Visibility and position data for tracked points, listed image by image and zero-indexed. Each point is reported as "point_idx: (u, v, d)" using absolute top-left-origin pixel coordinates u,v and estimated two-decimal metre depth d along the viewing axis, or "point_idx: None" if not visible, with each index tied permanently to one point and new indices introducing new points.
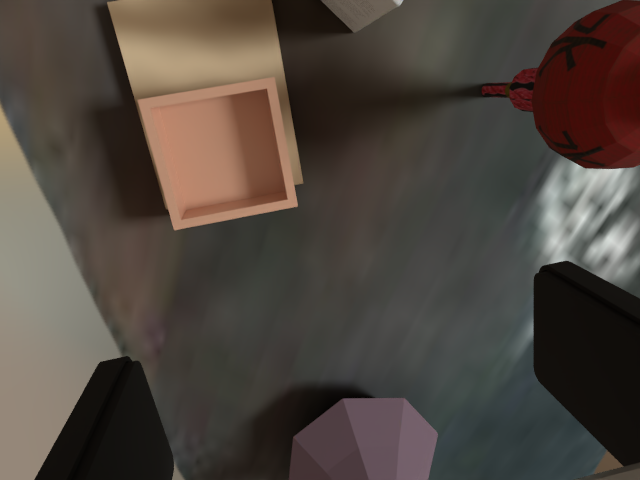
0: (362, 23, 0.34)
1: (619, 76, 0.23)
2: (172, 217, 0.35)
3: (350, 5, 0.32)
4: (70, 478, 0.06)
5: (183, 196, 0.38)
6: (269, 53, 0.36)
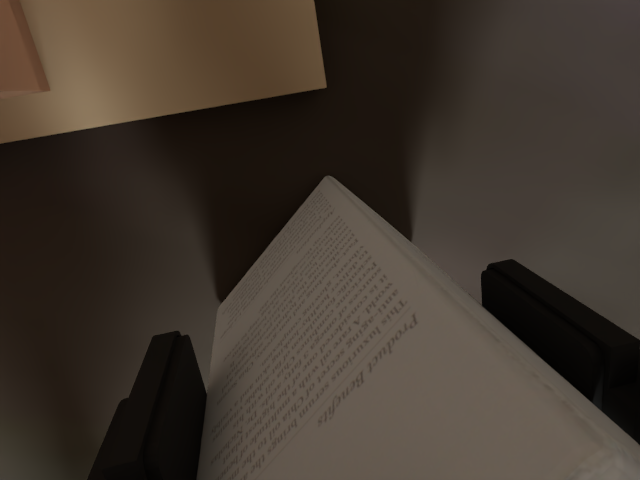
0: (214, 366, 0.11)
1: None
2: None
3: (253, 346, 0.10)
4: (147, 430, 0.07)
5: None
6: (127, 83, 0.12)
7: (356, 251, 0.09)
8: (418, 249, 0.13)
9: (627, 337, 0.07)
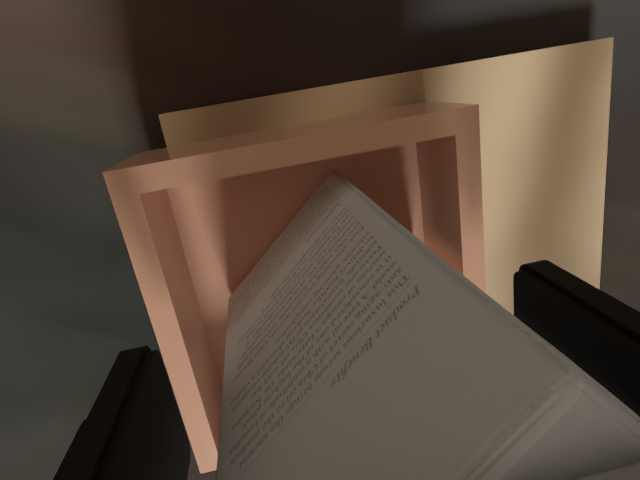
0: (229, 348, 0.12)
1: None
2: (145, 170, 0.11)
3: (266, 327, 0.11)
4: (100, 458, 0.07)
5: None
6: None
7: (362, 237, 0.10)
8: None
9: None
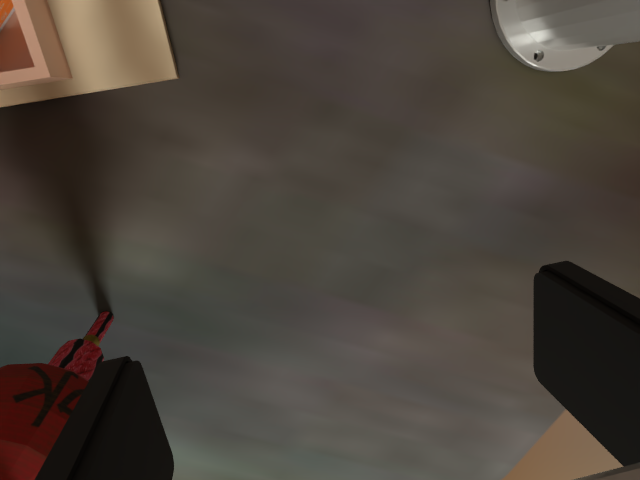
0: None
1: None
2: None
3: None
4: (70, 478, 0.06)
5: None
6: (100, 75, 0.32)
7: None
8: None
9: None
